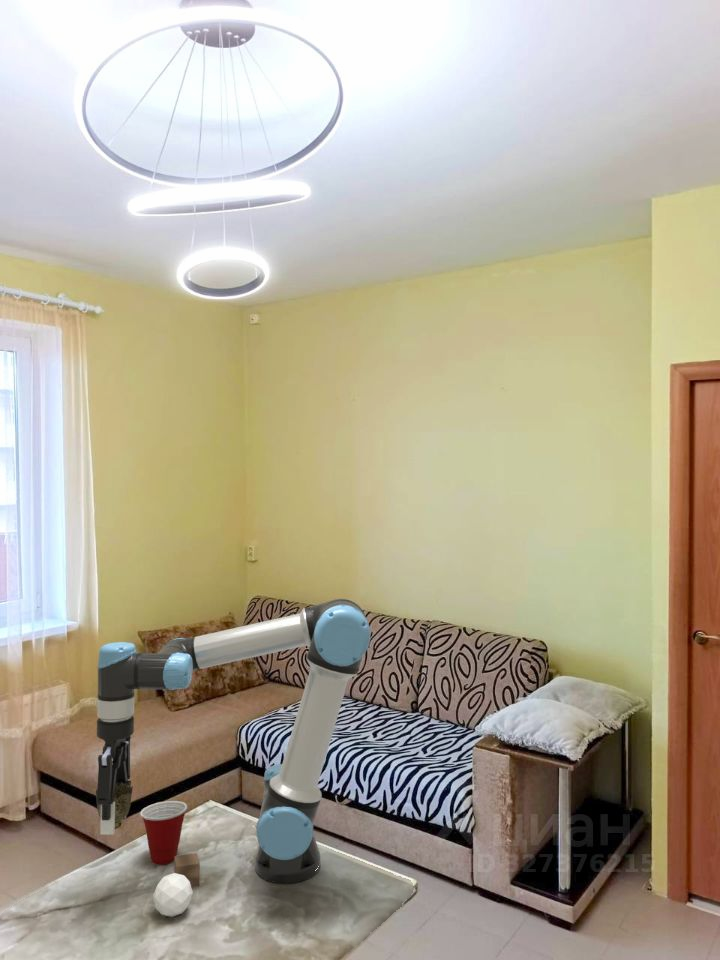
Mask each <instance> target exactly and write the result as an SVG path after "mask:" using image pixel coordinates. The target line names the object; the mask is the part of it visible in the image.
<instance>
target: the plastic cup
mask: <svg viewBox="0 0 720 960" xmlns="http://www.w3.org/2000/svg"><path fill="white" fill-rule="evenodd" d="M187 809H188V805H187V804H186V803H185V802H183V801H178V800H169V801H168V800H165V801H159V802H156V803H153V804H150V805H147V806H146V807H144V808H142V809H141V811H140V816H141V818H142V819H143V823H144V828H145V831H146V832H145V833H146V838H147V839H146V840H147V845H148V850H149V856H150V860H151V861H150V862H151V863H153V864H154V865H158V866H163V865H169V864H171V863H174V856H178V850H179V849H178V848H179V844H180V842H181V834H182V829H183V823H184V819H185V813H186V812H187Z"/></svg>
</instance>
